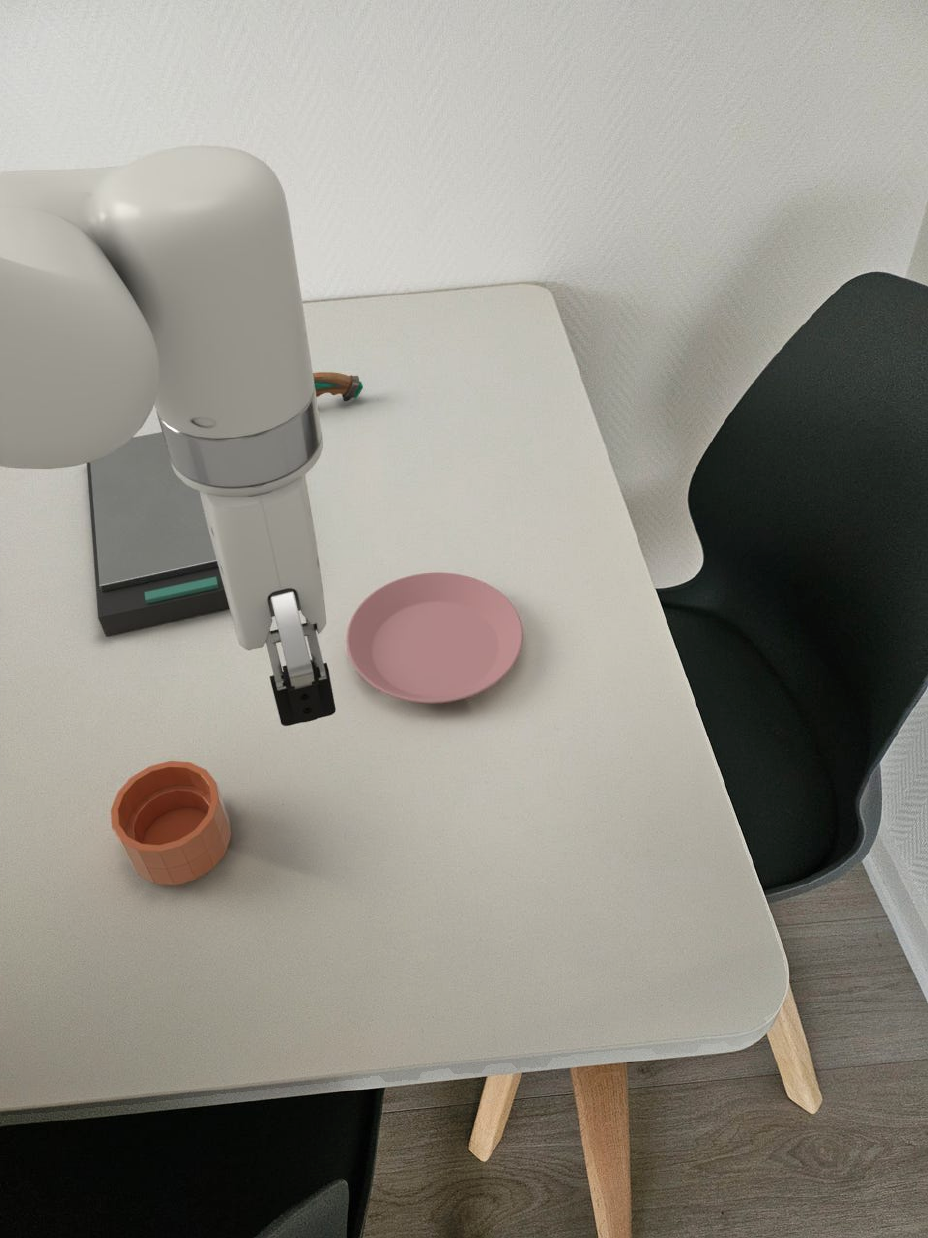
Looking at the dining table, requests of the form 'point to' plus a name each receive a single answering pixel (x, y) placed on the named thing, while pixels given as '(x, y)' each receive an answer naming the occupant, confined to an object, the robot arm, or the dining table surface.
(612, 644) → the dining table surface
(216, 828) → the bowl
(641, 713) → the dining table surface
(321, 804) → the dining table surface
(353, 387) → the knife
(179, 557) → the scale
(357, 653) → the plate
